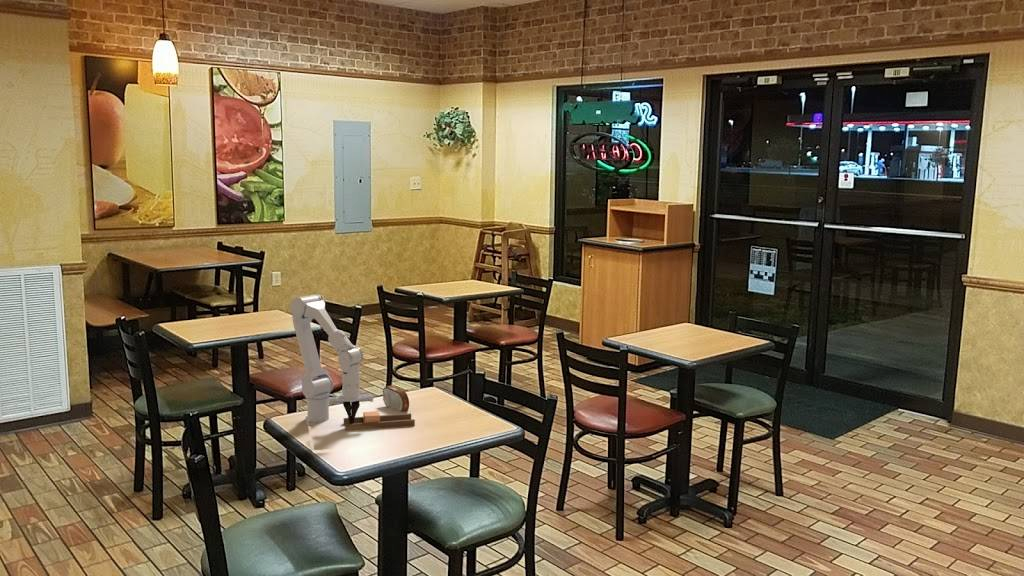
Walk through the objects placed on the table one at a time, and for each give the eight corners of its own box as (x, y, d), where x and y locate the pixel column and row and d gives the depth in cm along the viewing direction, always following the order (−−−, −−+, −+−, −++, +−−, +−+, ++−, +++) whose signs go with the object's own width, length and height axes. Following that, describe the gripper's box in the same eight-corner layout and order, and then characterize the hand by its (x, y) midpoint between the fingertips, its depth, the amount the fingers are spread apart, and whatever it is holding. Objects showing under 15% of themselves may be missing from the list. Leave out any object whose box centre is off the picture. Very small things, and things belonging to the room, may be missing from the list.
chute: (343, 426, 277) (343, 418, 277) (410, 421, 284) (410, 413, 284) (345, 433, 270) (345, 425, 269) (414, 428, 276) (414, 420, 276)
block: (363, 423, 278) (363, 412, 277) (378, 422, 279) (378, 411, 279) (365, 427, 273) (365, 416, 272) (380, 426, 274) (380, 415, 274)
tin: (410, 414, 293) (410, 391, 292) (402, 415, 291) (402, 392, 290) (388, 404, 305) (388, 382, 303) (381, 406, 303) (381, 384, 301)
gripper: (329, 388, 266) (330, 428, 268) (374, 385, 270) (374, 425, 272) (328, 382, 273) (328, 422, 275) (371, 380, 277) (372, 419, 279)
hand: (351, 423), depth 274 cm, fingers closed
